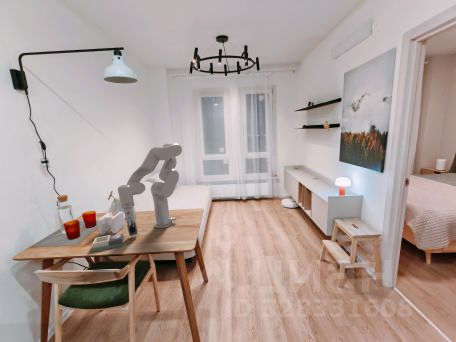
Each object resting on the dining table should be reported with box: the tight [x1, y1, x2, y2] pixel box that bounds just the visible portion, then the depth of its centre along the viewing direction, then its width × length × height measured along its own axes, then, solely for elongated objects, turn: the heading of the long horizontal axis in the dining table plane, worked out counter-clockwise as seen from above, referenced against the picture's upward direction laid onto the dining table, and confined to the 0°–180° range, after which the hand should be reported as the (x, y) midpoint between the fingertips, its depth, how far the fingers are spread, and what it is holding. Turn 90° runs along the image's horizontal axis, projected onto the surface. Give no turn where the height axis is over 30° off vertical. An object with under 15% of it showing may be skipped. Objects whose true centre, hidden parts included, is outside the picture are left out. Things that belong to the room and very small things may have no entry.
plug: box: [126, 221, 139, 237], centre depth 139 cm, size 5×4×8 cm
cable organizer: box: [96, 211, 126, 235], centre depth 149 cm, size 15×11×12 cm
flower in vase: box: [107, 190, 126, 220], centre depth 165 cm, size 13×11×25 cm
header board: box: [90, 233, 125, 253], centre depth 132 cm, size 16×12×4 cm
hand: (133, 230), depth 139 cm, fingers closed on plug, 4 cm apart
